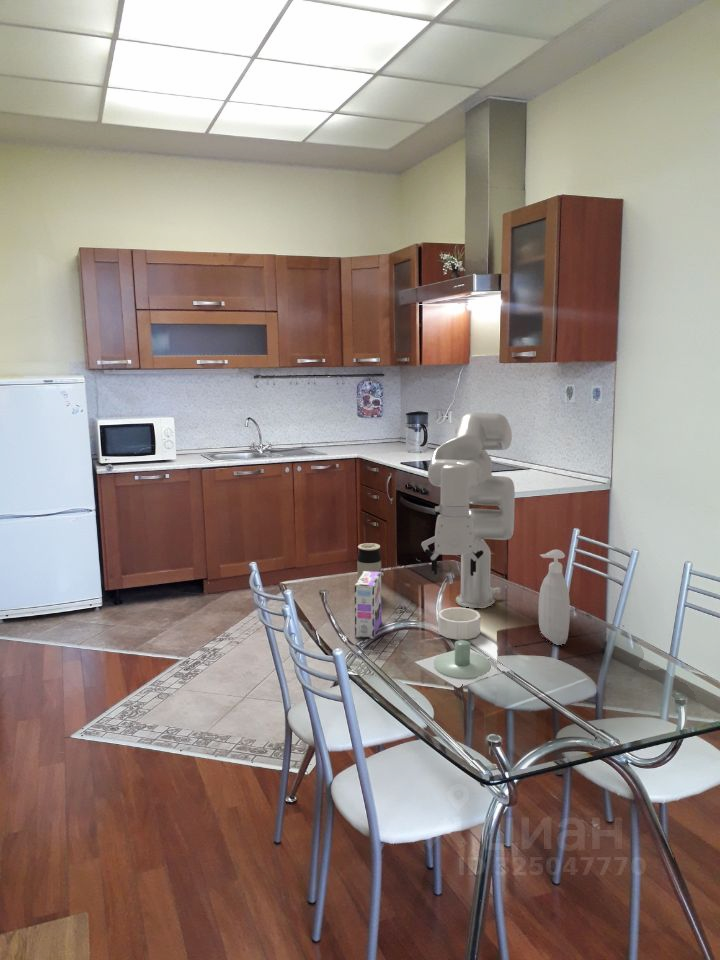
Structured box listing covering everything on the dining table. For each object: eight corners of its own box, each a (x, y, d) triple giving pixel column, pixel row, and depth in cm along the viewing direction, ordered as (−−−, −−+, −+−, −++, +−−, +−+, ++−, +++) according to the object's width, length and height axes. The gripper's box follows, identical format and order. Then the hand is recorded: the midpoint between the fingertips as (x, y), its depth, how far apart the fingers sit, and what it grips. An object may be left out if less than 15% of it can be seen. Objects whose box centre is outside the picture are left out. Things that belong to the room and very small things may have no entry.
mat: (465, 648, 207) (465, 646, 207) (511, 672, 192) (511, 670, 192) (414, 664, 198) (414, 662, 198) (457, 689, 183) (457, 687, 183)
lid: (465, 649, 205) (465, 628, 204) (502, 669, 193) (503, 646, 192) (422, 662, 197) (422, 640, 196) (458, 684, 185) (459, 660, 184)
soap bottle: (526, 632, 219) (528, 544, 214) (551, 629, 220) (554, 542, 215) (549, 651, 205) (553, 558, 200) (576, 648, 207) (580, 555, 202)
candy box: (374, 639, 215) (373, 585, 212) (354, 638, 216) (353, 584, 213) (382, 622, 228) (382, 571, 225) (363, 620, 229) (363, 570, 226)
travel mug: (353, 598, 249) (352, 547, 246) (365, 591, 256) (365, 541, 252) (373, 602, 245) (373, 550, 242) (385, 595, 252) (385, 544, 248)
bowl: (461, 624, 226) (461, 604, 225) (488, 636, 216) (488, 616, 215) (430, 632, 219) (430, 612, 218) (456, 646, 209) (456, 625, 208)
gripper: (421, 513, 191) (420, 577, 194) (488, 514, 189) (487, 578, 192) (421, 507, 199) (421, 569, 201) (486, 508, 197) (485, 570, 199)
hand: (453, 574), depth 197 cm, fingers open, 9 cm apart
